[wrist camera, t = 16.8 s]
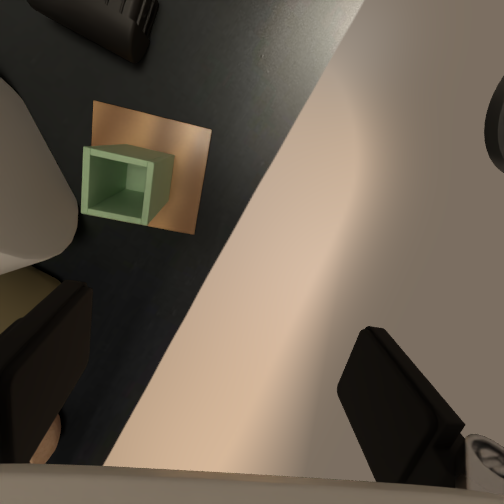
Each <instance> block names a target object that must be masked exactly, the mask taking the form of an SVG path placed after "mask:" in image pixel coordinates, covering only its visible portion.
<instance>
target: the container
mask: <svg viewBox="0 0 504 504" xmlns="http://www.w3.org/2000/svg"><path fill="white" fill-rule="evenodd" d="M60 284H61V282H60V281H59V280H57V279H56V278H54V277H52V276H50V275H48V274H46V273H44V272H42V271H40V270H38V269H36V268H35V267H33V266H31V265H29V266H26V267H23V268H20V269H17V270H14V271H11V272H8V273H4V274H1V275H0V334H1V333H2V332H3V331H4V330H5V329H7V328H8V327H9V326H10V325H11V324H12V323H13V322H15V321H16V320H17V319H19V318H22V317H24V316H25V315H26V314H27V313H29V312H30V311H31V310H32V309H33V308H34V307H35V306H36V305H37V304H39V303H40V302H41V301H42V300H43V299H44V298H45V297H46V296H48V295H49V294H50V293H51V292H52V291H53V290H54V289H55V288H56V287H58V286H59V285H60Z"/></svg>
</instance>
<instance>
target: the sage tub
mask: <svg viewBox="0 0 504 504" xmlns="http://www.w3.org/2000/svg"><path fill="white" fill-rule="evenodd" d="M174 157H175V155H172V154H168V153H163V152H159V151H155V150H150V149H146V148H142V147H137V146H133V145H129V144H117V145H101V146H85V147H83V169H82V196H81V213H83V214H88V215H93V216H98V217H103V218H109V219H114V220H119V221H125V222H130V223H135V224H141V225H146V226H147V225H148V224H149V223H150V222H151V220H152V219H153V218H154V217H155V216H156V215H157V214H158V212H159V211H160V210H161V209H162V208H163V207H164V205H165V204H166V203H167V202H168V201H169V194H170V186H171V179H172V172H173V164H174Z"/></svg>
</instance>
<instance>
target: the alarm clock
mask: <svg viewBox="0 0 504 504" xmlns="http://www.w3.org/2000/svg"><path fill="white" fill-rule="evenodd" d="M77 223H78V205H77V200H76V198H75V196H74V194H73V192H72V191H71V189H70V187H69V185H68V183H67V181H66V179H65V178H64V176H63V174H62V172H61V170H60V168H59V166H58V165H57V163H56V161H55V159H54V157H53V155H52V153H51V152H50V150H49V148H48V146H47V144H46V142H45V140H44V139H43V137H42V135H41V133H40V131H39V129H38V127H37V126H36V124H35V122H34V120H33V118H32V116H31V114H30V113H29V111H28V109H27V107H26V105H25V103H24V101H23V100H22V98H21V97H20V96H19V95H18V94H17V93H16V92H15V91H14V90H13V88H12V87H11V86H10V85H8V84H7V83H6V82H5V81H4V80H3V79H2V78H1V77H0V275H1V274H4V273H8V272H11V271H14V270H17V269H20V268H23V267H26V266H29V265H32V264H35V263H38V262H41V261H44V260H47V259H49V258H52V257H54V256H56V255H59V254H61V253H62V252H63V251H64V250H65V249H66V248H67V246H68V245H69V244H70V243H71V242H72V240H73V237H74V235H75V232H76V229H77Z"/></svg>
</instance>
